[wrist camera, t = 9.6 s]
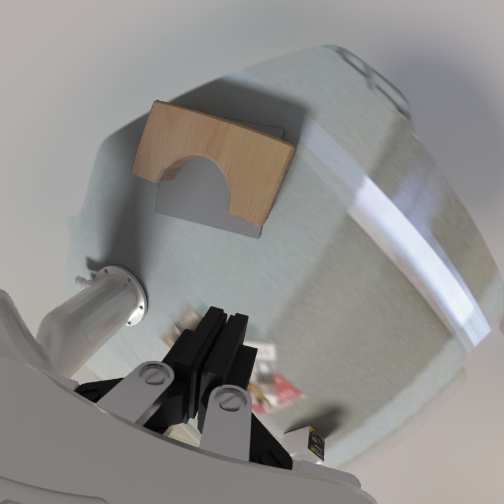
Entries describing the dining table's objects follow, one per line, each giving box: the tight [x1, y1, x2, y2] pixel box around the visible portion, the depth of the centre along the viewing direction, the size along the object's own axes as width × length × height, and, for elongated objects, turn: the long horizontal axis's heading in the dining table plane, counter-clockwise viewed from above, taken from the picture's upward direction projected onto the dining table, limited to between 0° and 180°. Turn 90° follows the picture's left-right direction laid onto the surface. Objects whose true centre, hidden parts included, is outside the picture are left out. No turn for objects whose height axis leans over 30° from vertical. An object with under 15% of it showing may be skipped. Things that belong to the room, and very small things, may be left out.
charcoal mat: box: [155, 118, 284, 239], centre depth 40 cm, size 17×16×1 cm
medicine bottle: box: [282, 426, 325, 464], centre depth 48 cm, size 7×7×12 cm
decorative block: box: [131, 100, 296, 227], centre depth 36 cm, size 11×6×20 cm
